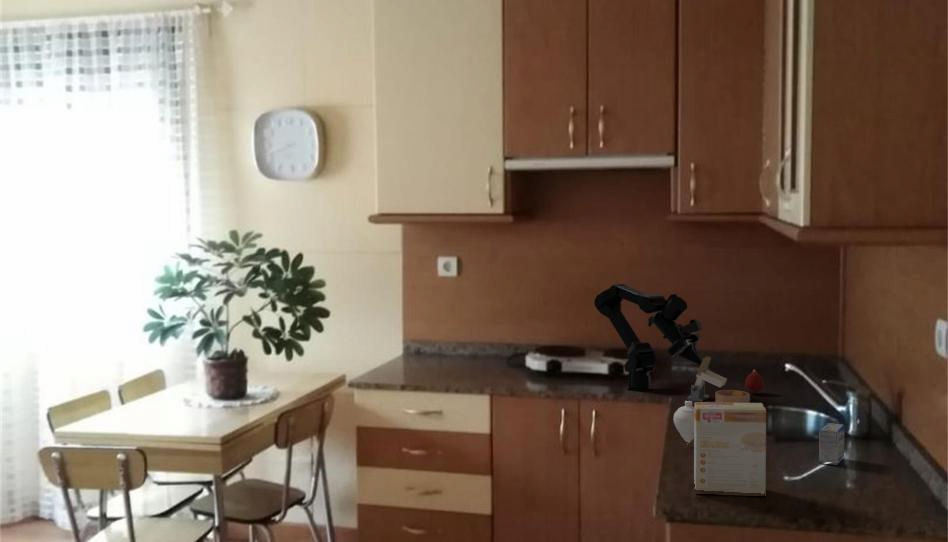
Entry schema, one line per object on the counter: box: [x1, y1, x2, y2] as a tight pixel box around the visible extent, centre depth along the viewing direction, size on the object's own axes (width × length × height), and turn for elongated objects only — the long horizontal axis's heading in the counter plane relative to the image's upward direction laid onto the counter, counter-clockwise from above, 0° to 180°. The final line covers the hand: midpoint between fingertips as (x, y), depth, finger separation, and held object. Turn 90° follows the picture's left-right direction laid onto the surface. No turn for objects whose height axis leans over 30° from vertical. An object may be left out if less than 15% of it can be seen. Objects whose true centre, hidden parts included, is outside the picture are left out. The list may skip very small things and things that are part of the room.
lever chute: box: [694, 355, 728, 389], centre depth 297 cm, size 8×6×10 cm
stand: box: [686, 381, 710, 402], centre depth 299 cm, size 5×8×5 cm, turn 150°
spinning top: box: [673, 400, 694, 444], centre depth 244 cm, size 8×8×12 cm
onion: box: [744, 369, 764, 395], centre depth 306 cm, size 6×6×8 cm
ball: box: [732, 390, 743, 396], centre depth 293 cm, size 4×4×4 cm
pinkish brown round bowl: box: [714, 389, 751, 403], centre depth 294 cm, size 10×10×3 cm
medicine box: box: [818, 422, 845, 463], centre depth 229 cm, size 8×4×9 cm, turn 148°
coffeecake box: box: [693, 401, 767, 494], centre depth 206 cm, size 15×7×20 cm, turn 81°
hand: (702, 364), depth 298 cm, fingers closed, pressing on lever chute
